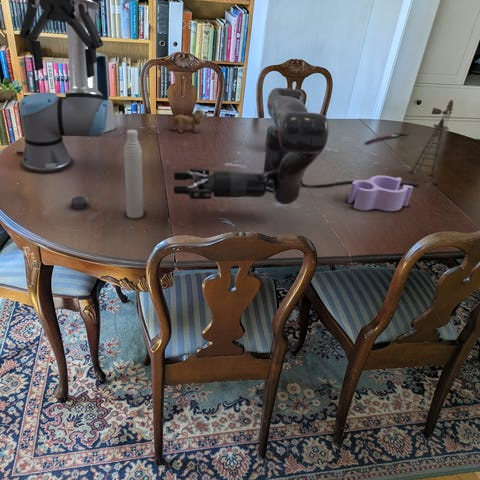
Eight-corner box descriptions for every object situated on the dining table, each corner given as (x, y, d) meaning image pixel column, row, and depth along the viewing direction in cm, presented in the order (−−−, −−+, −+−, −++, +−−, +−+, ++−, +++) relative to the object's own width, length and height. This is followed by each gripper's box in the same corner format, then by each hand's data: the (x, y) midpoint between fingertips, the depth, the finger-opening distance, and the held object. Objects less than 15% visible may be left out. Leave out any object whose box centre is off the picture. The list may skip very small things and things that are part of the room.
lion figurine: (201, 127, 203) (202, 107, 198) (204, 132, 199) (205, 111, 194) (168, 129, 198) (168, 108, 193) (170, 133, 194) (171, 112, 189)
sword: (404, 132, 223) (404, 129, 222) (409, 134, 221) (409, 132, 220) (360, 143, 207) (361, 141, 206) (365, 146, 205) (366, 143, 204)
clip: (360, 214, 150) (365, 195, 146) (341, 196, 159) (346, 177, 156) (412, 209, 156) (418, 190, 152) (390, 192, 166) (396, 174, 162)
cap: (73, 203, 139) (72, 196, 138) (86, 203, 140) (86, 196, 139) (71, 209, 136) (70, 203, 135) (85, 209, 137) (84, 203, 136)
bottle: (146, 212, 139) (144, 130, 125) (138, 219, 135) (136, 135, 121) (131, 208, 140) (128, 126, 126) (123, 216, 136) (119, 132, 122)
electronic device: (93, 136, 184) (86, 56, 167) (80, 131, 187) (72, 52, 170) (116, 128, 193) (112, 52, 177) (103, 124, 196) (97, 48, 180)
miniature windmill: (435, 184, 175) (463, 105, 159) (412, 180, 176) (438, 101, 160) (432, 174, 182) (458, 98, 166) (410, 171, 183) (434, 94, 167)
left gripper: (-7, -29, 104) (9, 69, 115) (100, -16, 102) (106, 83, 113) (12, -31, 110) (26, 63, 122) (113, -19, 108) (118, 76, 119)
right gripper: (229, 162, 139) (174, 160, 137) (233, 184, 128) (174, 182, 125) (227, 184, 143) (173, 182, 141) (231, 207, 132) (173, 206, 129)
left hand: (65, 73), depth 117 cm, fingers open, 13 cm apart
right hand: (174, 182), depth 133 cm, fingers open, 8 cm apart
